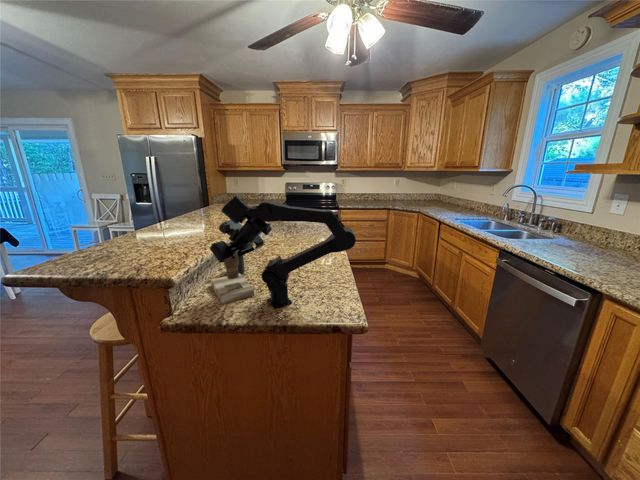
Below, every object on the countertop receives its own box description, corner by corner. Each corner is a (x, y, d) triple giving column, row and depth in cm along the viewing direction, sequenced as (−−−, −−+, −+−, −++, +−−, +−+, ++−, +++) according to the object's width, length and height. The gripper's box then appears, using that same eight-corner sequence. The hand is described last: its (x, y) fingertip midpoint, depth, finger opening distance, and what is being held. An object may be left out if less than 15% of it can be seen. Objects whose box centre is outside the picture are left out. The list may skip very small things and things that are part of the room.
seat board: (254, 295, 88) (253, 288, 87) (222, 304, 82) (221, 297, 82) (240, 279, 101) (239, 273, 100) (211, 285, 95) (210, 279, 94)
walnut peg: (241, 277, 87) (238, 244, 84) (227, 280, 85) (224, 247, 81) (237, 273, 91) (234, 241, 88) (224, 276, 88) (220, 243, 85)
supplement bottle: (247, 273, 107) (246, 246, 104) (233, 277, 102) (230, 249, 99) (239, 268, 111) (237, 242, 108) (225, 272, 107) (222, 246, 103)
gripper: (255, 209, 87) (235, 235, 96) (210, 217, 72) (191, 248, 80) (274, 233, 86) (252, 258, 94) (232, 247, 70) (210, 275, 78)
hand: (228, 259), depth 87 cm, fingers closed on walnut peg, 5 cm apart
